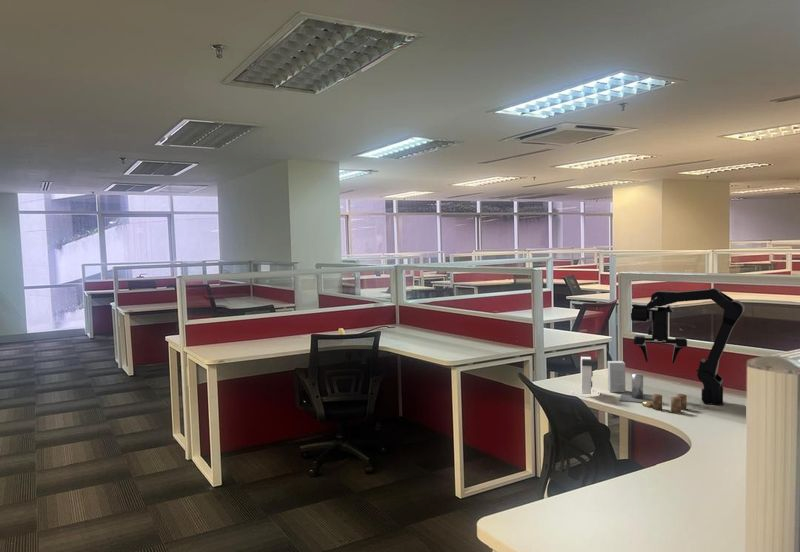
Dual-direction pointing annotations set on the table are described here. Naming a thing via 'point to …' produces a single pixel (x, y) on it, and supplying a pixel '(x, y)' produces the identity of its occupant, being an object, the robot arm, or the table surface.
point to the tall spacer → (637, 385)
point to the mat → (628, 398)
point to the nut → (648, 403)
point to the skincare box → (616, 376)
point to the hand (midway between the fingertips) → (659, 362)
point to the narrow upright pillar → (586, 374)
